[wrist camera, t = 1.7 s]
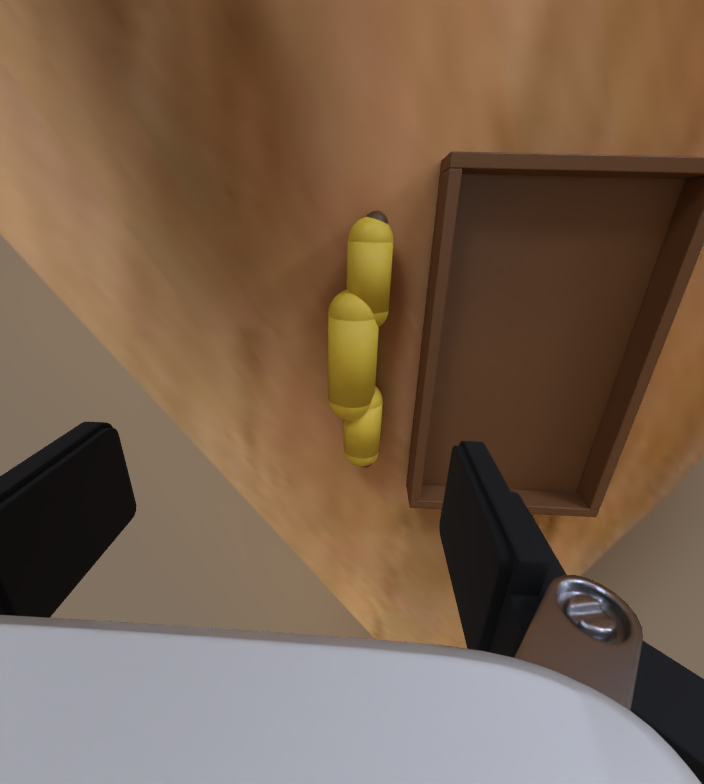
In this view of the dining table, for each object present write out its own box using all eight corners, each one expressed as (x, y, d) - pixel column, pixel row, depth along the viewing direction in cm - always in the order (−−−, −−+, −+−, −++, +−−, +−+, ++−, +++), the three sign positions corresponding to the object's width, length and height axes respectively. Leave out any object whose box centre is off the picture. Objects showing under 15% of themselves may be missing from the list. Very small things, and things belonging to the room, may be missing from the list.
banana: (323, 210, 24) (334, 208, 21) (384, 212, 25) (404, 210, 22) (324, 458, 32) (333, 483, 29) (371, 452, 33) (384, 476, 30)
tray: (441, 160, 23) (450, 151, 20) (693, 166, 23) (738, 157, 20) (406, 485, 34) (409, 507, 31) (578, 493, 33) (596, 517, 30)
